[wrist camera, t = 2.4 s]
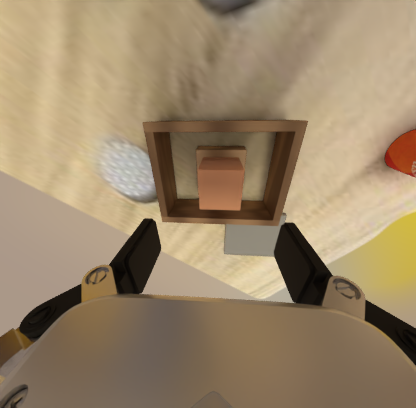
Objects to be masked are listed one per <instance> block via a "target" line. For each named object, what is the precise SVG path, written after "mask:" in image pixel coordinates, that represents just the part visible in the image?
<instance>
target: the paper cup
mask: <svg viewBox="0 0 416 408" xmlns="http://www.w3.org/2000/svg"><path fill="white" fill-rule="evenodd" d="M385 162H386V164H387V165H388V166H389V167H391V168H393V169H395V170H398V171H400V172H403V173H405V174H408V175H410V176H413V177H416V129H415V130H412V131H409V132H407V133H405V134H403V135H402V136H400V137H399V138H397V139H396V140H395V141H394V142H393V143H392V144H391V145H390V147H389V148H388V150H387V152H386V155H385Z"/></svg>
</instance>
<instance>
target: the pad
mask: <svg viewBox="0 0 416 408" xmlns="http://www.w3.org/2000/svg"><path fill="white" fill-rule="evenodd" d="M286 216H287V215H286V214H285V213H282V215H281V219H280V222H279V226H259V225H232V224H226V232H225V247H224V254H230V255H250V256H270V257H274V249H275V245H276V242H277V238H278V235H279V231H280V228H281V225H282V224H284V223H285V220H286Z"/></svg>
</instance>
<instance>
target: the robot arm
mask: <svg viewBox="0 0 416 408" xmlns="http://www.w3.org/2000/svg"><path fill="white" fill-rule="evenodd" d="M160 251H161V244H160V239H159V235H158V230H157V226H156V222H155V221H154V220H153V219H144V220H143V221H142V222H141V224H140V225H139V226H138V228H137V229H136V230H135V232H134V233H133V234H132V235H131V237H130V238H129V239H128V240H127V242H126V243H125V244H124V246H123V247H122V248H121V250H120V251H119V252H118V253H117V255H116V256H115V257H114V259H113V260H112V261H111V263H110V264H109V265H100V266H97V267H95V268H93V269H92V270H90V271H89V272H87V274H86V275H85V276H84V277H83V279H82V284H80V285H78V286H76V287H74V288H72V289H70V290H68V291H66V292H64V293H62V294H60V295H58V296H56V297H55V298H52V299H50V300H48V301H47V302H45V303H43V304H41V305H39V306H37V307H36V308H35V309H33V310H32V311H31V312H30V313H29V314H28V315H27V316H26V317H25V318H24V319H23V321H22V322H21V324H20V327H18V328H17V329H16V330H15V329H11V330H10V331H8V332H7V333H5V334H4V335H2V336H1V337H0V408H416V328H414V327H412V326H411V325H409V324H407V323H405V322H403V321H402V320H400V319H398V318H397V317H395V316H393V315H391V314H390V313H388V312H386V311H385V310H383V309H381V308H379V307H377V306H376V305H374V304H372V303H371V302H369V301H367V300H365V294H364V293H363V291H362V290H361V289H360V288H359V286H357V285H356V284H355V283H354V282H352V281H350V280H349V279H347V278H344V277H341V276H333V275H332V274H331V272H330V271H329V270H328V268H327V267H326V266H325V264H324V263H323V262H322V260H321V259H320V257H319V256H318V255H317V253H316V252H315V251H314V249H313V248H312V247H311V245H310V244H309V243H308V241H307V240H306V239H305V237H304V236H303V235H302V233H301V232H300V231H299V229H298V228H297V226H296V225H295V224H294V223H284V224H282V225H281V228H280V231H279V235H278V238H277V242H276V245H275V249H274V257H275V259H276V262H277V264H278V266H279V269H280V271H281V274H282V276H283V279H284V281H285V284H286V286H287V288H288V291H289V293H290V296H291V298H292V300H293V302H294V303H285V302H271V301H255V300H239V299H223V298H205V297H188V296H169V295H148V294H147V295H146V294H140V293H142V292H143V290H144V287H145V285H146V283H147V280H148V278H149V276H150V274H151V272H152V269H153V267H154V265H155V263H156V260H157V258H158V256H159V253H160Z"/></svg>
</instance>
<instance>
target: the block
mask: <svg viewBox="0 0 416 408" xmlns="http://www.w3.org/2000/svg"><path fill="white" fill-rule="evenodd" d="M244 173H245V170H244V168H243V166H242V163H241V161H240V159H239V157H203V159H202V162H201V164H200V166H199V169H198V185H199V207H200V209H207V210H240V207H241V199H242V190H243V181H244Z"/></svg>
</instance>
